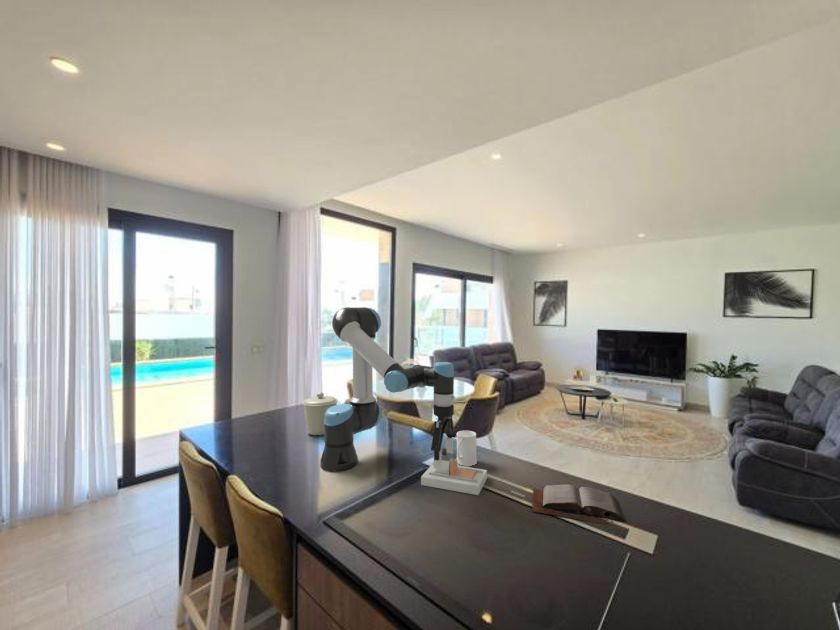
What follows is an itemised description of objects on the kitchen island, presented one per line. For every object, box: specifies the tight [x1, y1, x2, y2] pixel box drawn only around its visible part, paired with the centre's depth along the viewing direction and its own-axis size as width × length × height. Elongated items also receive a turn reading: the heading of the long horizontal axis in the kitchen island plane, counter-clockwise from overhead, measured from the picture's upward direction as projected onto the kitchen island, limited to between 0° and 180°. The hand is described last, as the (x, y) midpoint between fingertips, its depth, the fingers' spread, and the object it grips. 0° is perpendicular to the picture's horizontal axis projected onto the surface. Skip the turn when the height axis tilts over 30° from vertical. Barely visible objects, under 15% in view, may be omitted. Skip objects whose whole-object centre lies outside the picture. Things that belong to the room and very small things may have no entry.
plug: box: [436, 447, 453, 475], centre depth 137 cm, size 5×4×11 cm
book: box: [531, 484, 627, 526], centre depth 119 cm, size 20×28×4 cm
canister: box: [301, 391, 339, 436], centre depth 193 cm, size 18×18×21 cm
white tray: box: [420, 462, 488, 496], centre depth 136 cm, size 21×14×4 cm, turn 68°
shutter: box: [450, 458, 476, 479], centre depth 134 cm, size 8×7×4 cm
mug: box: [456, 430, 478, 467], centre depth 152 cm, size 12×8×12 cm
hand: (443, 461), depth 137 cm, fingers open, 13 cm apart
